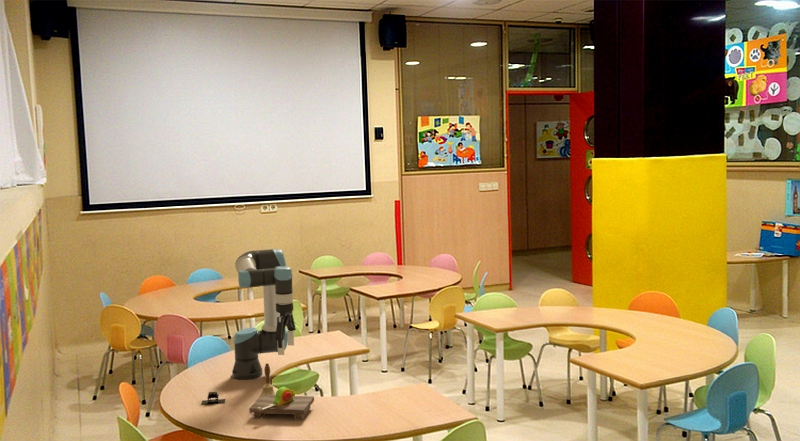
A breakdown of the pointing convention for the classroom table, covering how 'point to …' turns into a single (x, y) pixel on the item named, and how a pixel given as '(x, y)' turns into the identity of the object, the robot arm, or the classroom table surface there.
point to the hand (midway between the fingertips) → (286, 349)
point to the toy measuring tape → (281, 397)
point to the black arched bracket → (213, 401)
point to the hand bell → (267, 383)
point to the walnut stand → (282, 406)
